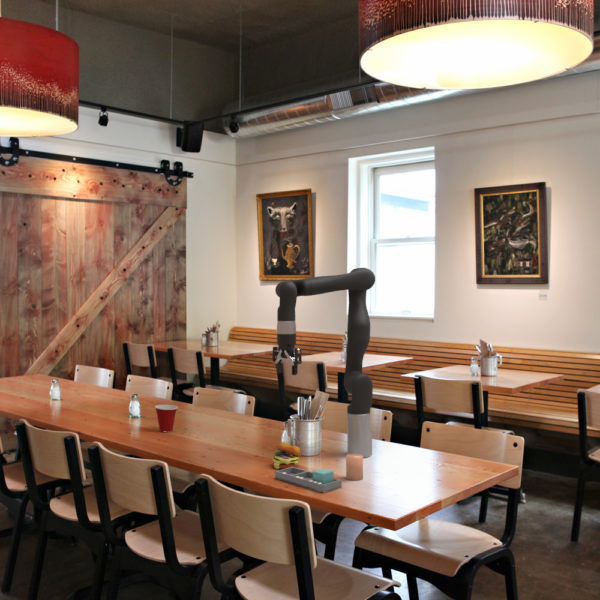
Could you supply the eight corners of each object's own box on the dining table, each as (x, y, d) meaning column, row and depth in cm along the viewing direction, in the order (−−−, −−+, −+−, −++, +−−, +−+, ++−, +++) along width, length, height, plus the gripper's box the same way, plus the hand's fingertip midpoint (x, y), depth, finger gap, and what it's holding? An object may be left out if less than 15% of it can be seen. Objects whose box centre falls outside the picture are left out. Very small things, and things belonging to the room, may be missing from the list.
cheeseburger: (265, 466, 261) (269, 440, 262) (285, 468, 268) (289, 442, 270) (283, 471, 254) (287, 443, 255) (303, 472, 261) (307, 446, 263)
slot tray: (292, 473, 251) (292, 466, 251) (341, 487, 234) (341, 479, 234) (274, 478, 245) (274, 470, 245) (323, 493, 228) (323, 485, 228)
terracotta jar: (353, 474, 249) (353, 452, 249) (366, 478, 245) (366, 455, 245) (342, 478, 245) (342, 455, 245) (355, 481, 241) (355, 458, 241)
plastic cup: (175, 433, 320) (175, 407, 320) (152, 433, 320) (152, 408, 320) (180, 428, 331) (180, 403, 331) (158, 428, 331) (157, 403, 331)
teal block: (323, 482, 237) (323, 468, 237) (333, 485, 234) (333, 471, 234) (313, 485, 234) (312, 471, 234) (323, 489, 230) (323, 474, 230)
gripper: (306, 332, 265) (306, 374, 266) (281, 331, 275) (281, 371, 276) (291, 333, 260) (292, 376, 260) (267, 332, 270) (267, 373, 271)
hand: (286, 374), depth 268 cm, fingers open, 8 cm apart
